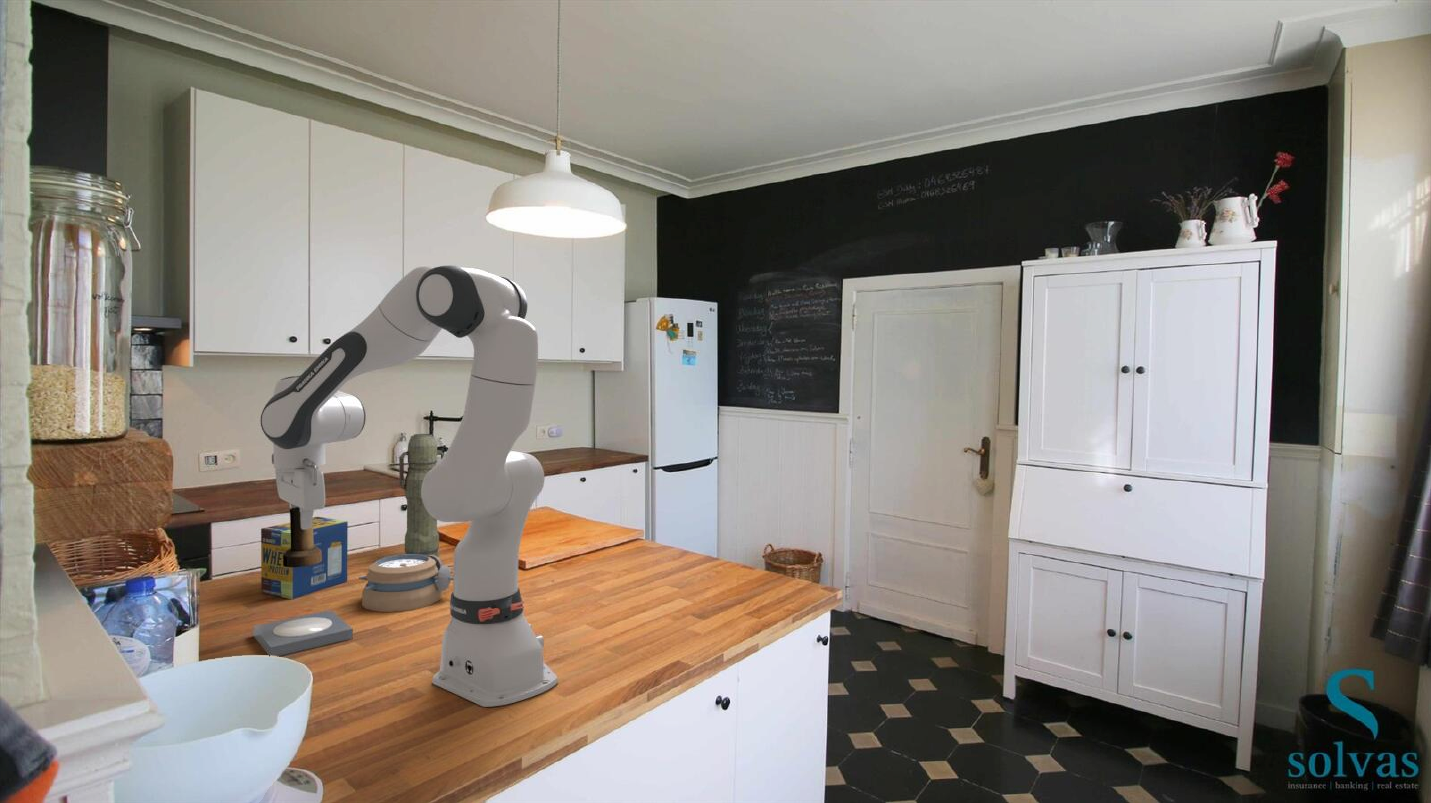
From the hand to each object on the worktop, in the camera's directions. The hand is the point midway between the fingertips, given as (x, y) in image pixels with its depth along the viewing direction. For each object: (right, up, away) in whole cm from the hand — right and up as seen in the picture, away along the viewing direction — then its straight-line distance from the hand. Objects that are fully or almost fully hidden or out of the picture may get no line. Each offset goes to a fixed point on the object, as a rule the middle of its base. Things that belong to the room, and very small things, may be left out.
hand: (301, 526), depth 138 cm
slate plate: (0, -22, 0) cm, 22 cm away
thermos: (-1, -20, +58) cm, 61 cm away
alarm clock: (+12, -21, +25) cm, 35 cm away
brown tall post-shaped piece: (0, -8, 0) cm, 8 cm away
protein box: (-17, -20, +30) cm, 40 cm away
